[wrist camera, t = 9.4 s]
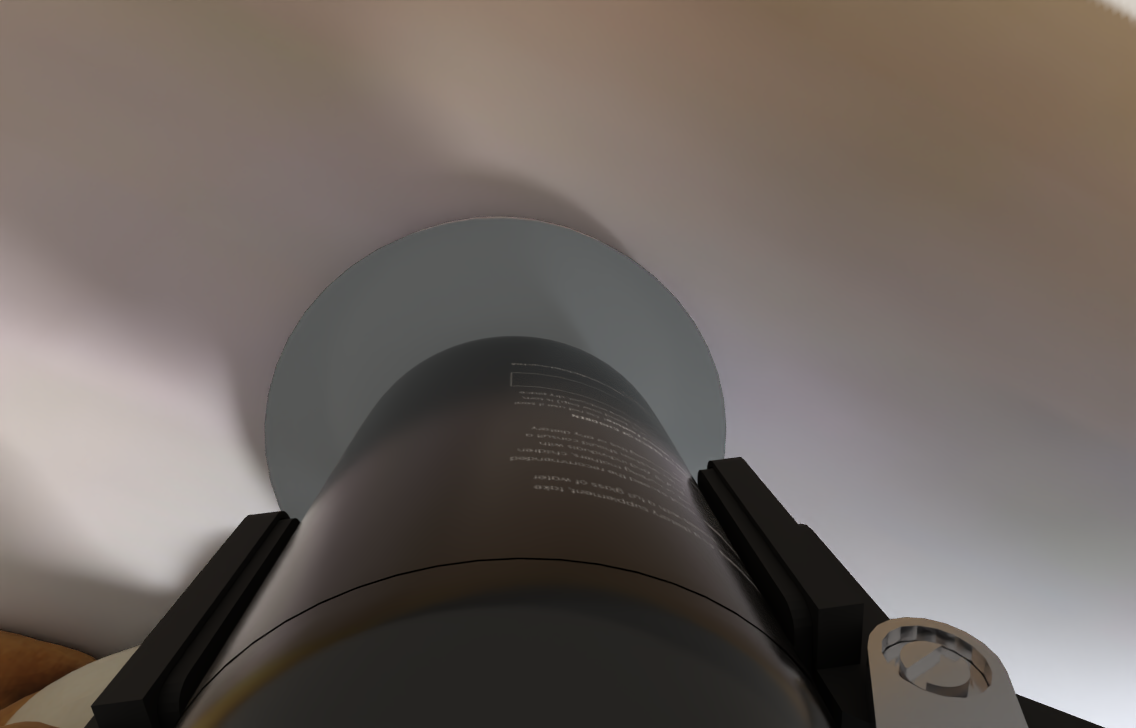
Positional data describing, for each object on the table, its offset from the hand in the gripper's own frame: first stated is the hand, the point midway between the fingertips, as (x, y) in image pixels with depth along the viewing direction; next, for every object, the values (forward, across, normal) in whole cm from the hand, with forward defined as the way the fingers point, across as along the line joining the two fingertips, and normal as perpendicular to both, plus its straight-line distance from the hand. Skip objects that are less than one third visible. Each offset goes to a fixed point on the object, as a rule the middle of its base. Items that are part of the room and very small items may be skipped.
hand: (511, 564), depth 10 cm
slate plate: (+6, 0, 0) cm, 6 cm away
